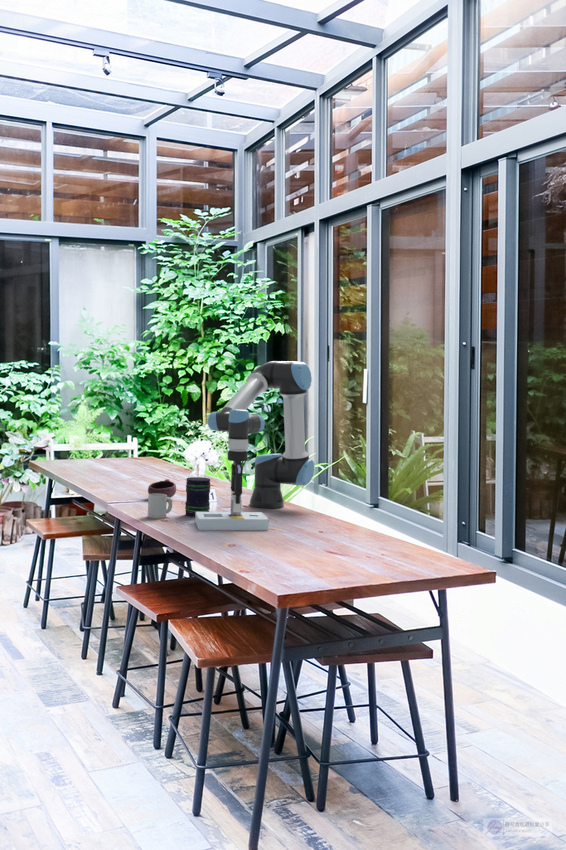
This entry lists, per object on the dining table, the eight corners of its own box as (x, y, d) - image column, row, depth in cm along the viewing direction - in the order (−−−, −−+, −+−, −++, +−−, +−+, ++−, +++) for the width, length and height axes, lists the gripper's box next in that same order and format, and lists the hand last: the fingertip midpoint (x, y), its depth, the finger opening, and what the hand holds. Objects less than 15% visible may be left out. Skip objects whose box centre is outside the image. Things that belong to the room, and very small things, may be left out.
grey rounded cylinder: (229, 524, 310) (230, 499, 310) (239, 525, 311) (240, 499, 311) (230, 526, 306) (231, 500, 306) (241, 527, 307) (242, 500, 307)
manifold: (195, 522, 314) (195, 510, 314) (261, 522, 319) (261, 511, 319) (198, 529, 298) (199, 518, 298) (268, 530, 303) (268, 518, 303)
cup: (144, 516, 323) (145, 493, 322) (168, 514, 328) (168, 492, 327) (151, 519, 317) (152, 496, 316) (175, 517, 322) (176, 495, 321)
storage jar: (211, 514, 333) (212, 478, 333) (206, 518, 324) (208, 480, 323) (187, 512, 334) (188, 476, 334) (182, 516, 325) (183, 479, 324)
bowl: (179, 501, 364) (179, 483, 363) (150, 501, 359) (151, 484, 358) (170, 496, 379) (170, 479, 378) (142, 496, 374) (143, 479, 373)
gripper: (224, 447, 316) (222, 506, 318) (231, 452, 297) (228, 514, 298) (243, 448, 318) (241, 506, 319) (251, 452, 298) (249, 514, 299)
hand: (235, 510), depth 308 cm, fingers open, 7 cm apart
